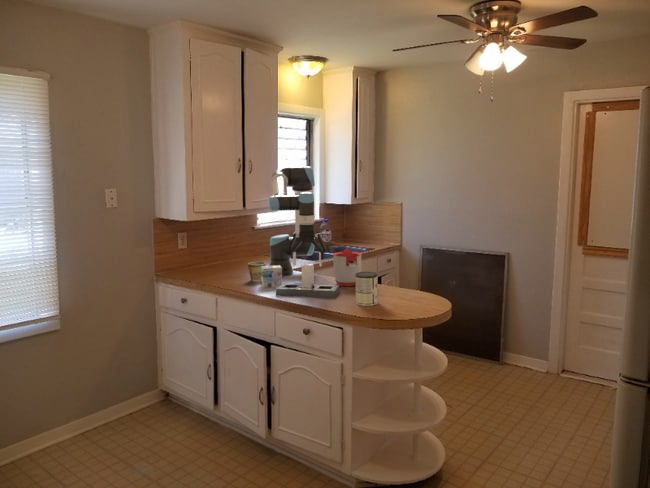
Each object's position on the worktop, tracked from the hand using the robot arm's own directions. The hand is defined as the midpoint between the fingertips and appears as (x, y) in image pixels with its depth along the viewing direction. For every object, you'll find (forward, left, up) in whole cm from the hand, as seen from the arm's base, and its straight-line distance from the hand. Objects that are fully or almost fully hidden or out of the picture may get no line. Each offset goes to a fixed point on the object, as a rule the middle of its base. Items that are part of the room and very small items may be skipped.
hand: (307, 265), depth 276 cm
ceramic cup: (-28, -37, -15) cm, 48 cm away
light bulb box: (-14, -24, -15) cm, 31 cm away
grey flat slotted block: (0, 0, -14) cm, 14 cm away
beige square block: (0, 0, -14) cm, 14 cm away
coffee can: (+14, +32, -15) cm, 38 cm away
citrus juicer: (-24, +16, -15) cm, 32 cm away
